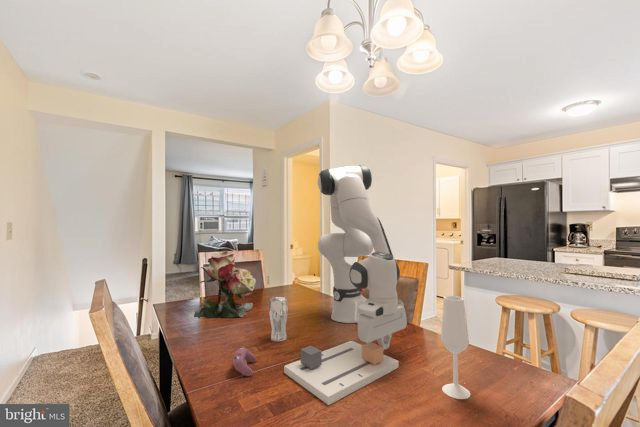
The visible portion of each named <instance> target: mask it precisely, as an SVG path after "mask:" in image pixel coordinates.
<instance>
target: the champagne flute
mask: <svg viewBox="0 0 640 427" xmlns="http://www.w3.org/2000/svg"><path fill="white" fill-rule="evenodd" d="M442 302H443V305H442V315H441V316H442V317H441V327H440V328H441V330H440V341H441V343H442V345H443V346H444V347H445V348H446V349H447V350H448V351H449V352H450V353H451V354H452V378H453V379H452V383H448V384H444V385H443V386H442V388H441V389H442V392H443V393H444V394H445V395H447V396H449V397H450V398H453V399H456V400H457V399H458V400H466V399H469V398H470V396H471V391H470V390H468V388H466V387H464V386H462V385H461V384H459V361H458V360H459V358H458V355H459V354H461V353H462V352H464V351H465V350H466V349H467V348H469V347H468V346H469V345H470V338H469V330H468V323H467V317H466V307H465V300H464V298H463V297H461V296H457V295H445V296H443V301H442Z"/></svg>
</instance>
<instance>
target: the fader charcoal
mask: <svg viewBox="0 0 640 427" xmlns="http://www.w3.org/2000/svg"><path fill="white" fill-rule="evenodd" d="M321 352H322V350H321V349H318V348H317V347H315V346H313V345H308V346H306V347H303V348H300V360H301V363H302V364H303V365H305V366H306V367H308V368H310V369H313V368H315V367H317V366H320V365H322V354H321Z"/></svg>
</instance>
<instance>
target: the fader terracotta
mask: <svg viewBox="0 0 640 427" xmlns="http://www.w3.org/2000/svg"><path fill="white" fill-rule="evenodd" d="M361 345H362V359H364V360H366V361H368V362H370V363H372V364H377V363H379V362H381V361H383V354H384V350H383V347H382V346H380V345H379V344H376V343H375V342H373V341H372V342H370V343H366V342H365V343H363V344H361Z"/></svg>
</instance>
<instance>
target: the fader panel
mask: <svg viewBox="0 0 640 427" xmlns="http://www.w3.org/2000/svg"><path fill="white" fill-rule="evenodd" d="M362 345H363V344H361V343H358V342H356V341H353V340H349V341H346V342H344V343H341V344H338V345H336V346H334V347H331V348H328V349H325V350H323V351H322V350H321V354H322V365H320V366H317V367H315V368H313V369H310V368H308V367H306V366H305V365H303V364H302V363H301V359H299V360H296V361H292V362H290V363H288V364H286V365H283V366H284V367H283V374H285V375H286V376H288V377H289V378H291V379H292V380H294V382H296V383H297V384H299V385H301V387H303V388H304V389H305V390H307V391H308V392H309V393H311V394H312V395H314V396H315V397H317V398H318V399H319V400H321V401H322V402H323V403H324V404H326V405H327V406H330V405H331V404H334V403H336V402H337V401H339V400H341V399H342V398H345V397H346V396H349V395H350V394H352V393H354V392H356V391H358V390H360V389H362V388H364V387H365V386H368V385H369V384H371V383H373V382H375V381H376V380H378V379H380V378H382V377H384V376H386V375H388V374H389V373H391V372H393V371H395V370H397V369H398V368H399V367H400V366H399V362H400V361H399V359H398V360H397V359H395V358H393V357H391V356H388V355H386V354H384V353H383V361H381V362H379V363H377V364H372V363H370V362H368V361H366V360H364V359H362Z"/></svg>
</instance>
